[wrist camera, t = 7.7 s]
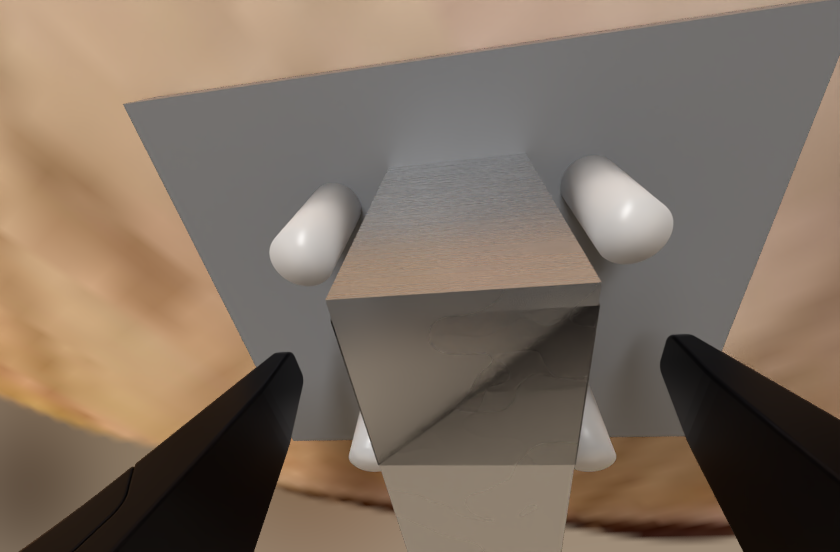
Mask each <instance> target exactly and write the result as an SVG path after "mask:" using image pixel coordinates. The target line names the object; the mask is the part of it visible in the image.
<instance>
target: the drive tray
mask: <svg viewBox="0 0 840 552" xmlns="http://www.w3.org/2000/svg"><path fill="white" fill-rule="evenodd" d="M839 56H840V0H808V1H802V2H795V3H788V4H781V5H775V6H768V7H761V8H754V9H748V10H741V11H734V12H727V13H721V14H714V15H707V16H700V17H694V18H687V19H680V20H673V21H667V22H660V23H653V24H646V25H640V26H633V27H626V28H619V29H613V30H606V31H599V32H592V33H586V34H579V35H572V36H565V37H559V38H552V39H545V40H538V41H532V42H525V43H518V44H511V45H505V46H498V47H491V48H484V49H478V50H471V51H464V52H457V53H451V54H444V55H437V56H430V57H424V58H417V59H410V60H403V61H397V62H390V63H383V64H376V65H370V66H363V67H356V68H349V69H343V70H336V71H329V72H322V73H316V74H309V75H302V76H295V77H288V78H282V79H275V80H268V81H261V82H255V83H248V84H241V85H234V86H228V87H221V88H214V89H207V90H201V91H194V92H187V93H180V94H174V95H167V96H160V97H154V98H149V99H144V100H140V101H135V102H131V103H126V104H123V105H124V107H125V109H126V111H127V113H128V115H129V117H130V119H131V121H132V123H133V125H134V127H135V129H136V131H137V133H138V135H139V137H140V139H141V141H142V143H143V145H144V147H145V149H146V151H147V152H148V154H149V156H150V158H151V160H152V162H153V164H154V166H155V168H156V170H157V172H158V174H159V176H160V178H161V180H162V182H163V184H164V186H165V188H166V190H167V192H168V194H169V196H170V198H171V200H172V202H173V204H174V206H175V208H176V210H177V212H178V214H179V216H180V218H181V220H182V222H183V224H184V226H185V227H186V229H187V231H188V233H189V235H190V237H191V239H192V241H193V243H194V245H195V247H196V249H197V251H198V253H199V255H200V257H201V259H202V261H203V263H204V265H205V267H206V269H207V271H208V273H209V275H210V277H211V279H212V281H213V283H214V285H215V287H216V289H217V291H218V293H219V295H220V297H221V299H222V301H223V303H224V304H225V306H226V308H227V310H228V312H229V314H230V316H231V318H232V320H233V322H234V324H235V326H236V328H237V330H238V332H239V334H240V336H241V338H242V340H243V342H244V344H245V346H246V348H247V350H248V352H249V354H250V356H251V358H252V360H253V362H254V364H255V366H256V367H257V366H259V365H260V364H261V363H262V362H264V361H265V360H266V359H267V358H269V357H270V356H271V355H273V354H274V353H277V352H292V353H293V354H294V356H295V358H296V360H297V362H298V365H299V367H300V370H301V372H302V375H303V387H302V392H301V396H300V401H299V406H298V410H297V415H296V419H295V424H294V428H293V433H292V439H293V441H309V440H353V441H352V445H351V449H350V453H349V460H350V462H351V463H352V464H353V465H354V466H356V467H357V468H359V469H362V470H365V471H370V472H379V471H381V469H380V466H379V465H378V463H377V460H376V457H375V454H374V451H373V448H372V445H371V442H370V439H369V436H368V433H367V430H366V427H365V424H364V421H363V418H362V415H361V412H360V409H359V406H358V403H357V400H356V397H355V394H354V391H353V388H352V385H351V382H350V379H349V376H348V373H347V370H346V367H345V364H344V361H343V358H342V355H341V352H340V349H339V345H338V342H337V339H336V336H335V333H334V330H333V327H332V324H331V321H330V320H331V316H330V313H329V310H328V307H327V304H326V301H325V299H326V297H327V295H328V293H329V291H330V289H331V287H332V285H333V283H334V281H335V279H336V276H337V274H338V272H339V270H340V268H341V266H342V264H343V262H344V260H345V258H346V256H347V254H348V252H349V249H350V247H351V245H352V243H353V241H354V239H355V237H356V235H357V233H358V231H359V229H360V227H361V224H362V222H363V220H364V218H365V216H366V214H367V212H368V210H369V208H370V206H371V204H372V202H373V199H374V197H375V195H376V193H377V191H378V189H379V187H380V185H381V183H382V181H383V179H384V177H385V174H386V172H387V170H388V168H393V167H402V166H411V165H420V164H429V163H438V162H447V161H456V160H465V159H474V158H483V157H492V156H501V155H510V154H519V153H526V155H527V156H528V158H529V160H530V161H531V163H532V165H533V167H534V168H535V170H536V172H537V173H538V175H539V177H540V178H541V180H542V182H543V184H544V185H545V187H546V189H547V190H548V192H549V194H550V195H551V197H552V199H553V201H554V202H555V204H556V206H557V207H558V209H559V211H560V212H561V214H562V216H563V218H564V219H565V221H566V223H567V224H568V226H569V228H570V229H571V231H572V233H573V235H574V236H575V238H576V240H577V241H578V243H579V245H580V246H581V248H582V250H583V252H584V253H585V255H586V257H587V258H588V260H589V262H590V263H591V265H592V267H593V269H594V270H595V272H596V274H597V275H598V277H599V279H600V280H601V282H602V283H601V290H600V297H599V304H600V310H599V316H598V323H597V329H596V336H595V343H594V349H593V356H592V362H591V369H590V375H589V382H588V388H587V395H586V402H585V408H584V415H583V421H582V428H581V434H580V441H579V447H578V454H577V461H576V465H574V469H575V470H578V471H584V472H594V471H599V470H603V469H605V468H608V467H609V466H611V465H612V464H613V463H614V462H615V460H616V453H615V451H614V448H613V445H612V443H611V440H610V438H609V437H656V436H685V435H684V432H683V430H682V427H681V425H680V422H679V419H678V417H677V414H676V411H675V409H674V406H673V403H672V401H671V398H670V395H669V393H668V390H667V388H666V385H665V382H664V380H663V377H662V374H661V371H660V360H661V356H662V353H663V349H664V346H665V342H666V340H667V338H668V336H670V335H673V334H691V335H694V336H696V337H697V338H699V339H701V340H703V341H704V342H706V343H708V344H710V345H711V346H713V347H715V348H716V349H718V350H720V351H722V349H723V346H724V344H725V341H726V339H727V336H728V334H729V331H730V329H731V326H732V324H733V321H734V319H735V316H736V314H737V311H738V309H739V306H740V304H741V301H742V299H743V296H744V294H745V291H746V289H747V286H748V284H749V281H750V279H751V276H752V274H753V271H754V269H755V266H756V264H757V261H758V259H759V256H760V254H761V251H762V249H763V246H764V244H765V241H766V239H767V236H768V234H769V231H770V229H771V226H772V224H773V221H774V219H775V216H776V214H777V211H778V209H779V206H780V204H781V201H782V198H783V196H784V193H785V191H786V188H787V186H788V183H789V181H790V178H791V176H792V173H793V171H794V168H795V166H796V163H797V161H798V158H799V156H800V153H801V151H802V148H803V146H804V143H805V141H806V138H807V136H808V133H809V131H810V128H811V126H812V123H813V121H814V118H815V116H816V113H817V111H818V108H819V106H820V103H821V101H822V98H823V96H824V93H825V91H826V88H827V86H828V83H829V81H830V78H831V76H832V73H833V71H834V68H835V66H836V63H837V61H838V58H839Z"/></svg>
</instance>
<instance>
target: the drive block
mask: <svg viewBox="0 0 840 552" xmlns="http://www.w3.org/2000/svg"><path fill="white" fill-rule="evenodd" d="M601 283H602V282H601V280H600V279H599V277H598V275H597V274H596V272H595V270H594V269H593V267H592V265H591V263H590V262H589V260H588V258H587V257H586V255H585V253H584V252H583V250H582V248H581V246H580V245H579V243H578V241H577V240H576V238H575V236H574V235H573V233H572V231H571V229H570V228H569V226H568V224H567V223H566V221H565V219H564V218H563V216H562V214H561V212H560V211H559V209H558V207H557V206H556V204H555V202H554V201H553V199H552V197H551V195H550V194H549V192H548V190H547V189H546V187H545V185H544V184H543V182H542V180H541V178H540V177H539V175H538V173H537V172H536V170H535V168H534V167H533V165H532V163H531V161H530V160H529V158H528V156H527V155H526V153H519V154H510V155H501V156H492V157H483V158H474V159H465V160H456V161H447V162H438V163H429V164H420V165H411V166H402V167H393V168H388V170H387V172H386V174H385V177H384V179H383V181H382V183H381V185H380V187H379V189H378V191H377V193H376V195H375V197H374V199H373V202H372V204H371V206H370V208H369V210H368V212H367V214H366V216H365V218H364V220H363V222H362V224H361V227H360V229H359V231H358V233H357V235H356V237H355V239H354V241H353V243H352V245H351V247H350V249H349V252H348V254H347V256H346V258H345V260H344V262H343V264H342V266H341V268H340V270H339V272H338V274H337V276H336V279H335V281H334V283H333V285H332V287H331V289H330V291H329V293H328V295H327V297H326V299H325V301H326V304H327V307H328V310H329V313H330V316H331V320H330V321H331V324H332V327H333V330H334V333H335V336H336V339H337V342H338V345H339V349H340V352H341V355H342V358H343V361H344V364H345V367H346V370H347V373H348V376H349V379H350V382H351V385H352V388H353V391H354V394H355V397H356V400H357V403H358V406H359V409H360V412H361V415H362V418H363V421H364V424H365V427H366V430H367V433H368V436H369V439H370V442H371V445H372V448H373V451H374V454H375V457H376V460H377V463H378V465H379V466H380V469H381V472H382V475H383V478H384V481H385V484H386V487H387V490H388V493H389V496H390V499H391V502H392V505H393V508H394V512H395V515H396V517H397V521H398V524H399V527H400V530H401V533H402V536H403V539H404V542H405V545H406V548H407V551H408V552H562V545H563V538H564V532H565V525H566V518H567V511H568V505H569V498H570V491H571V485H572V478H573V471H574V465H576V461H577V454H578V447H579V441H580V434H581V428H582V421H583V415H584V408H585V402H586V395H587V388H588V382H589V375H590V369H591V362H592V356H593V349H594V343H595V336H596V329H597V323H598V316H599V310H600V304H599V297H600V290H601Z"/></svg>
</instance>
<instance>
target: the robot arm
mask: <svg viewBox="0 0 840 552" xmlns="http://www.w3.org/2000/svg"><path fill="white" fill-rule="evenodd" d="M660 371H661V374H662V377H663V380H664V382H665V385H666V388H667V390H668V393H669V395H670V398H671V401H672V403H673V406H674V409H675V411H676V414H677V417H678V419H679V422H680V425H681V427H682V430H683V432H684V435H685V437H686V440H687V442H688V444H689V446H690V448H691V450H692V452H693V454H694V456H695V458H696V460H697V462H698V464H699V466H700V468H701V470H702V472H703V474H704V476H705V477H706V479H707V481H708V483H709V485H710V487H711V489H712V491H713V493H714V495H715V497H716V499H717V501H718V503H719V505H720V507H721V509H722V511H723V513H724V515H725V517H726V519H727V521H728V523H729V525H730V526H731V528H732V530H733V532H734V534H735V536H736V538H737V540H738V542H739V544H740V546H741V548H742V550H743V552H840V420H839V419H838V418H836V417H834V416H832V415H831V414H829V413H827V412H825V411H824V410H822V409H820V408H818V407H817V406H815V405H813V404H812V403H810V402H808V401H806V400H805V399H803V398H801V397H799V396H798V395H796V394H794V393H793V392H791V391H789V390H787V389H786V388H784V387H782V386H780V385H779V384H777V383H775V382H774V381H772V380H770V379H768V378H767V377H765V376H763V375H761V374H760V373H758V372H756V371H755V370H753V369H751V368H749V367H748V366H746V365H744V364H742V363H741V362H739V361H737V360H736V359H734V358H732V357H730V356H729V355H727V354H725V353H723V352H722V351H720V350H718V349H716V348H715V347H713V346H711V345H710V344H708V343H706V342H704V341H703V340H701V339H699V338H697V337H696V336H694V335H691V334H673V335H670V336H668V338H667V340H666V342H665V346H664V349H663V353H662V356H661V360H660ZM302 387H303V375H302V372H301V370H300V367H299V365H298V362H297V360H296V358H295V356H294V354H293V353H292V352H277V353H274V354H273V355H271V356H270V357H269V358H267V359H266V360H265V361H264V362H262V363H261V364H260V365H259V366H257V367H256V368H255V369H254V370H252V371H251V372H250V373H249V374H247V375H246V376H245V377H244V378H242V379H241V380H240V381H239V382H237V383H236V384H235V385H234V386H232V387H231V388H230V389H229V390H227V391H226V392H225V393H224V394H222V395H221V396H220V397H219V398H217V399H216V400H215V401H214V402H212V403H211V404H210V405H209V406H207V407H206V408H205V409H204V410H202V411H201V412H200V413H199V414H197V415H196V416H195V417H194V418H192V419H191V420H190V421H189V422H187V423H186V424H185V425H184V426H182V427H181V428H180V429H179V430H177V431H176V432H175V433H174V434H172V435H171V436H170V437H169V438H167V439H166V440H165V441H164V442H162V443H161V444H160V445H158V446H157V447H156V448H155V449H154V450H152V451H151V452H150V453H148V454H147V455H146V456H145V457H143V458H142V459H141V460H140V461H138V462H137V463H136V464H135V467H131V468H130V469H128V470H127V471H126V472H125V473H123V474H122V475H121V476H120V477H118V478H117V479H116V480H115V481H113V482H112V483H111V484H109V485H108V486H107V487H106V488H104V489H103V490H102V491H100V492H99V493H98V494H97V495H95V496H94V497H93V498H91V499H90V500H89V501H88V502H86V503H85V504H84V505H82V506H81V507H80V508H78V509H77V510H76V511H74V512H73V513H71V514H70V515H69V516H67V517H66V518H65V519H63V520H62V521H61V522H59V523H58V524H57V525H55V526H54V527H53V528H51V529H50V530H48V531H47V532H46V533H44V534H43V535H41V536H40V537H39V538H37V539H36V540H34V541H33V542H32V543H30V544H29V545H27V546H26V547H25V548H23V549H22V550H20V551H19V552H254V549H255V547H256V544H257V541H258V538H259V535H260V532H261V529H262V526H263V523H264V520H265V517H266V514H267V511H268V508H269V505H270V502H271V499H272V496H273V493H274V490H275V487H276V484H277V481H278V478H279V475H280V472H281V469H282V466H283V463H284V460H285V457H286V454H287V451H288V448H289V445H290V441H291V437H292V433H293V428H294V424H295V419H296V415H297V410H298V406H299V401H300V396H301V392H302Z"/></svg>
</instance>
